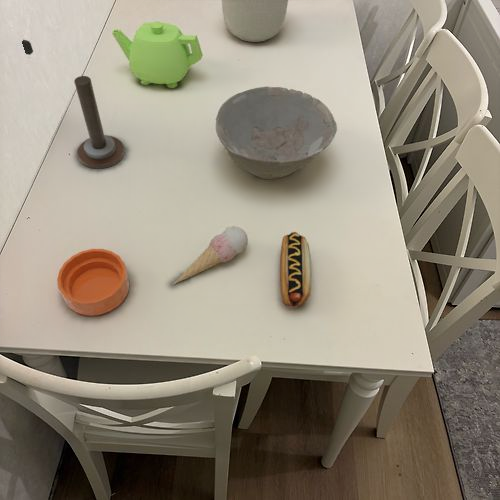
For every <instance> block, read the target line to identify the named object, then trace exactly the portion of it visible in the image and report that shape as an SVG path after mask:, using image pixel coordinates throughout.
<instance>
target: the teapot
mask: <svg viewBox="0 0 500 500" xmlns="http://www.w3.org/2000/svg"><path fill="white" fill-rule="evenodd" d="M121 30H122V29H113V30H112V31H111V33H112V35H113V37H114V39H115V40H116V42H117V44H118V46H119V48H120V49H121V50H122V52H123V54H124V56H125V57H126V59H127V61H128V62H129V64H128V65H129V68H130V70H131V73H132V74H133V75H134V76H135V77H136V78H138V79H139V80H140V83H141V84H142V85H144V86H147V85H151V84H157V85H166V87H167V88H169V89H174V88H177V87H178V82H180V81H182V80H183V79H184V78H185V76H186V75H187V73H188V71H189V69H190V68H191V66H194V65H195V64H197V63H198V62H199V61H201V60H202V59H203V56H204V54H203V52H202V48H201V45H200V41H199V38H198V35H196V34H183V32H182V31H181V29H180V28H179V27H178V26H177V25H175V24H172V23H167V22H162V21H150V22H145V23H142V24H141V25H140V26H139V27H138V28H137V30H136V32H135V34H134V36H133V39H130V38H128V36H127V35H126V34H125V33H124V32H122V31H121Z"/></svg>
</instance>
